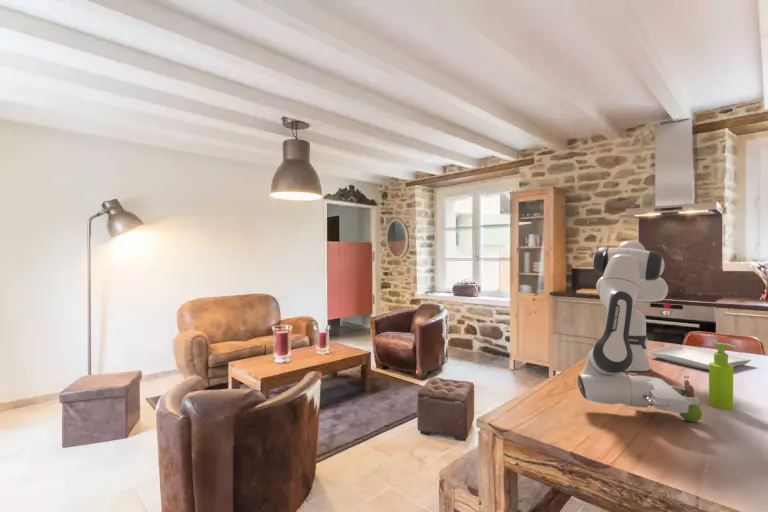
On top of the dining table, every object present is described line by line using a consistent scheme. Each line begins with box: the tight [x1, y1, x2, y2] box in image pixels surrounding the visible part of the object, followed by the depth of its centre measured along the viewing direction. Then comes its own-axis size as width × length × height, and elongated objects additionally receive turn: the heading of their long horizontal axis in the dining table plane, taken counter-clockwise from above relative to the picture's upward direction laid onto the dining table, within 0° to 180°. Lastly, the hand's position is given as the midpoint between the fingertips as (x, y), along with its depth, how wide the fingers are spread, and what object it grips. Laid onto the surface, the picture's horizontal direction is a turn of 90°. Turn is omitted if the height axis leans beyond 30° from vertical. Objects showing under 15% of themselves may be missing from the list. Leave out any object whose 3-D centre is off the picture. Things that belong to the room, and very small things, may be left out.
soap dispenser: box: [708, 342, 739, 411], centre depth 124 cm, size 6×7×20 cm
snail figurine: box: [678, 375, 703, 423], centre depth 114 cm, size 5×6×12 cm
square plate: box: [647, 345, 752, 371], centre depth 174 cm, size 27×27×4 cm
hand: (693, 396), depth 114 cm, fingers closed on snail figurine, 5 cm apart
